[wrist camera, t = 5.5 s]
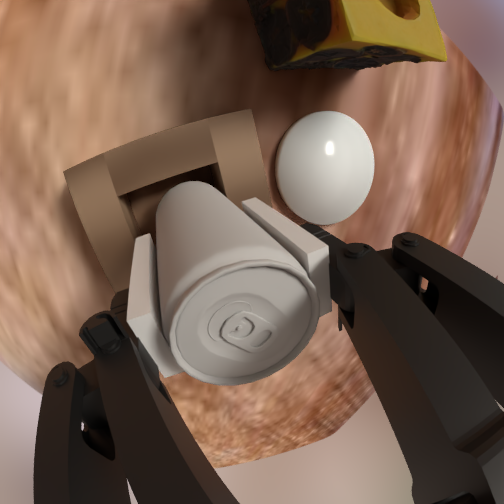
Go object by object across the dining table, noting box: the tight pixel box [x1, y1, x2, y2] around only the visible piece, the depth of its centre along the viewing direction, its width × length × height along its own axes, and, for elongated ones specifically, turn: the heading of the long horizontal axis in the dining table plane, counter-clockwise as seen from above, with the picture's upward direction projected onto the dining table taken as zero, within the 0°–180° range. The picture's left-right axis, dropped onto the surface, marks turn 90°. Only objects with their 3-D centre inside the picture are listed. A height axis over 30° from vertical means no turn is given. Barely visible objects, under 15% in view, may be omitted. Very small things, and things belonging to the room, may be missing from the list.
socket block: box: [63, 109, 272, 294], centre depth 18 cm, size 12×12×4 cm
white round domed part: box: [275, 111, 374, 225], centre depth 22 cm, size 10×10×1 cm
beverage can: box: [156, 181, 320, 385], centre depth 13 cm, size 5×5×12 cm
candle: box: [248, 0, 447, 71], centre depth 12 cm, size 10×10×10 cm
